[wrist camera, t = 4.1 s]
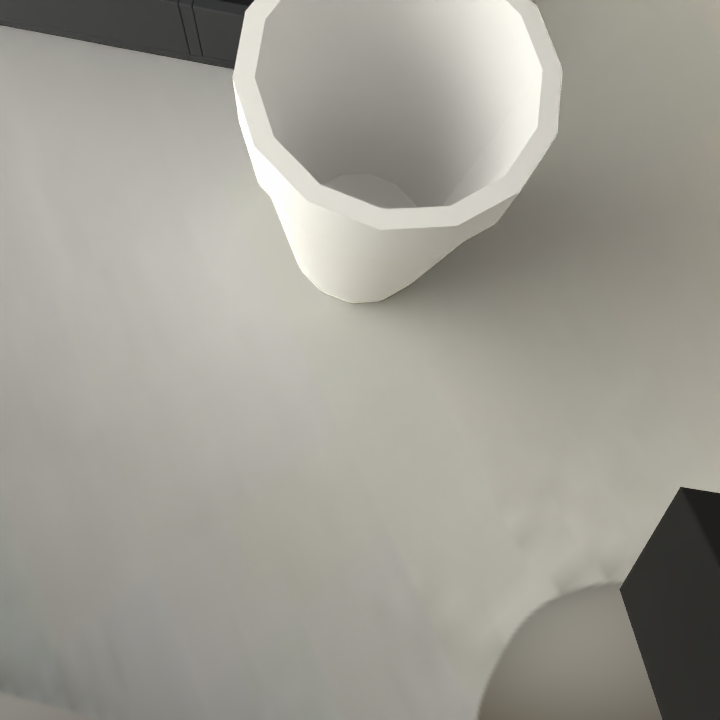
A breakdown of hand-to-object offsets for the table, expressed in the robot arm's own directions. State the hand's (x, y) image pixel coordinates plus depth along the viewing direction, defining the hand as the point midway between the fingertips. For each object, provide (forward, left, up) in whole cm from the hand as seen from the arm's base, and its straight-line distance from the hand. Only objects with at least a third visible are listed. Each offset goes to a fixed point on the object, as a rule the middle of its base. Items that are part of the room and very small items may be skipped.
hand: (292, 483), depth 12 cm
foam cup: (+1, +12, -18) cm, 22 cm away
